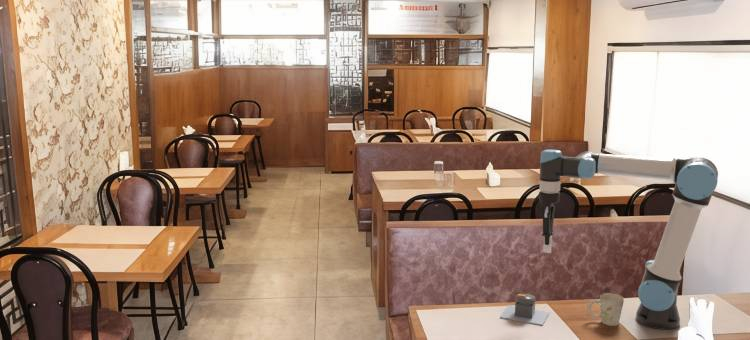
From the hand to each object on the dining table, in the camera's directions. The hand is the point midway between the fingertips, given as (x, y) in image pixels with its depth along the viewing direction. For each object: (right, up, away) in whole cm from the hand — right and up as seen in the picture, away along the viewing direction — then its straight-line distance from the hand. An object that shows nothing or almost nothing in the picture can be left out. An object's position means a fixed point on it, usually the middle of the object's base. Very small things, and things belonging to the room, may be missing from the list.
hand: (547, 252), depth 250 cm
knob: (-8, -24, +2) cm, 25 cm away
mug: (+20, -26, -4) cm, 33 cm away
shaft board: (-8, -24, +2) cm, 26 cm away
